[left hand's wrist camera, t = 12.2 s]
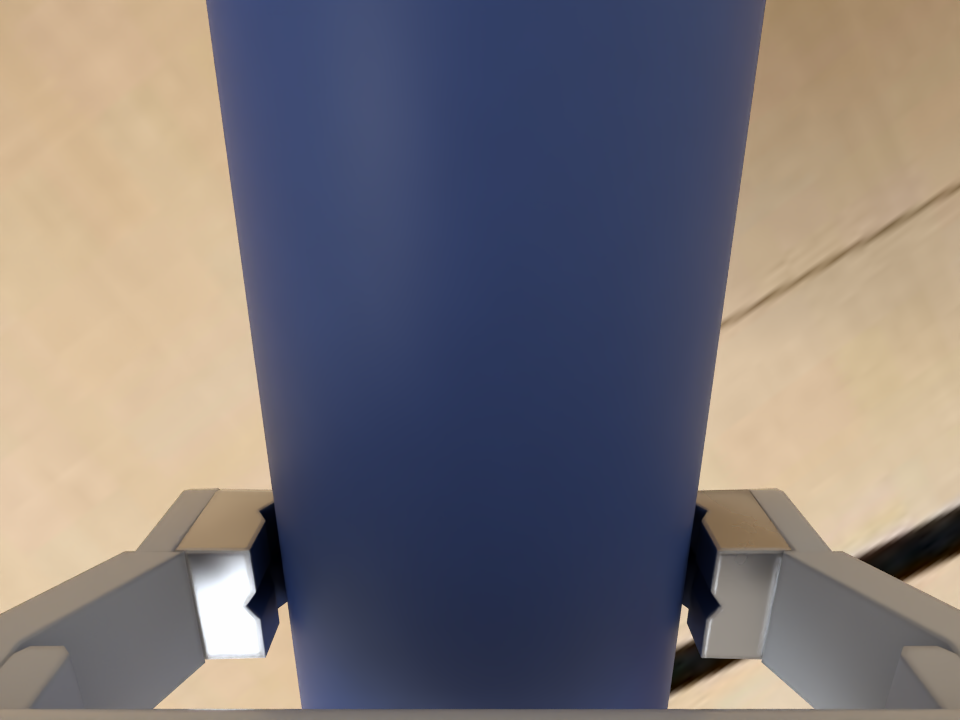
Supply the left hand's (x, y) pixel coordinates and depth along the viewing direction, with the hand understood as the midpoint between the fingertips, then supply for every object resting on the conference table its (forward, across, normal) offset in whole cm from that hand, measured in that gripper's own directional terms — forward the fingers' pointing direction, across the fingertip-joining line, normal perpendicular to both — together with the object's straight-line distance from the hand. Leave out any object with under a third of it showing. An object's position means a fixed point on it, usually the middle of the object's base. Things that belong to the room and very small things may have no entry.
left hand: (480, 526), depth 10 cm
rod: (+3, 0, -9) cm, 9 cm away
